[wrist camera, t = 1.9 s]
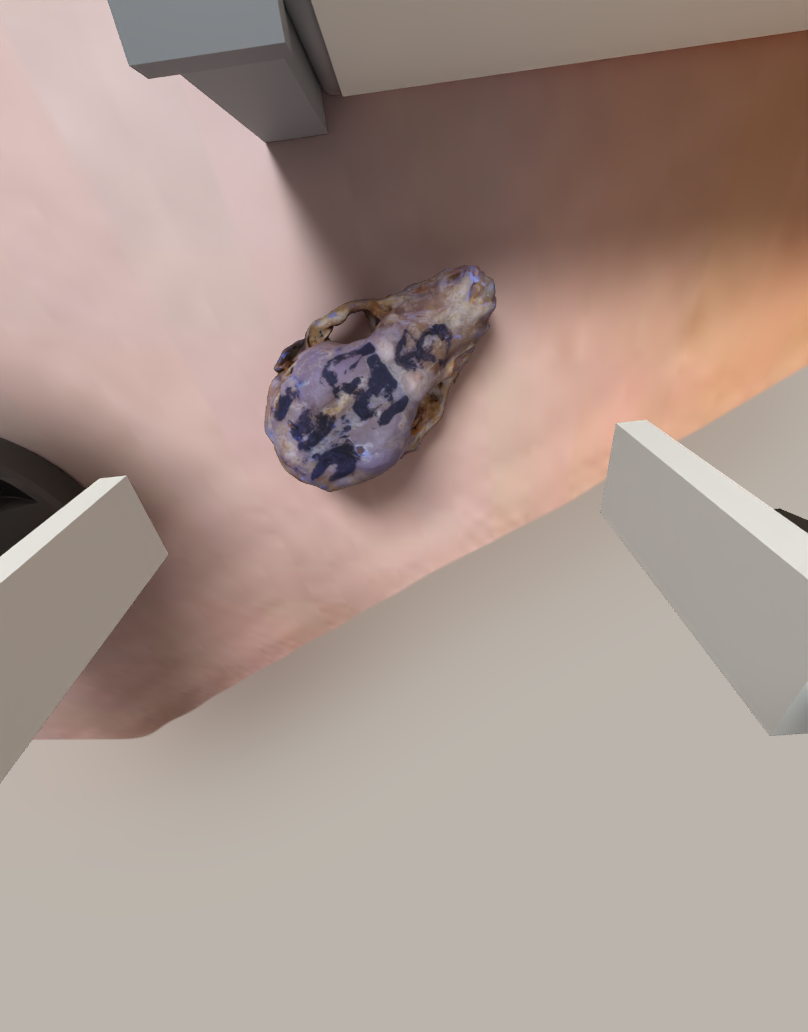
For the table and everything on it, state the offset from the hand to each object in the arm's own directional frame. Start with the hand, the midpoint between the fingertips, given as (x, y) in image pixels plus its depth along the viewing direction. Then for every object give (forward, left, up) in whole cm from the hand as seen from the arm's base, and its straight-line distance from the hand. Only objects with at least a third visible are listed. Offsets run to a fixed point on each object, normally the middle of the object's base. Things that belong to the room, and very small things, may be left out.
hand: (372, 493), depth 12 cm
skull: (0, 0, -12) cm, 12 cm away
